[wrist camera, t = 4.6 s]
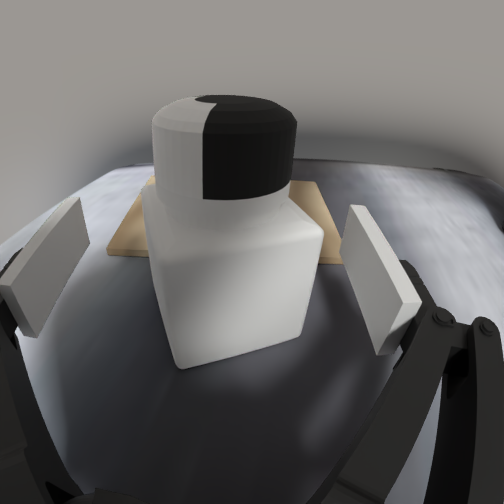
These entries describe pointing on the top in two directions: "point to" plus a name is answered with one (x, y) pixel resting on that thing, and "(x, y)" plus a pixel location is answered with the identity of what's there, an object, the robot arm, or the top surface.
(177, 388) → the top surface
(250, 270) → the medicine bottle
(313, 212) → the cork mat
